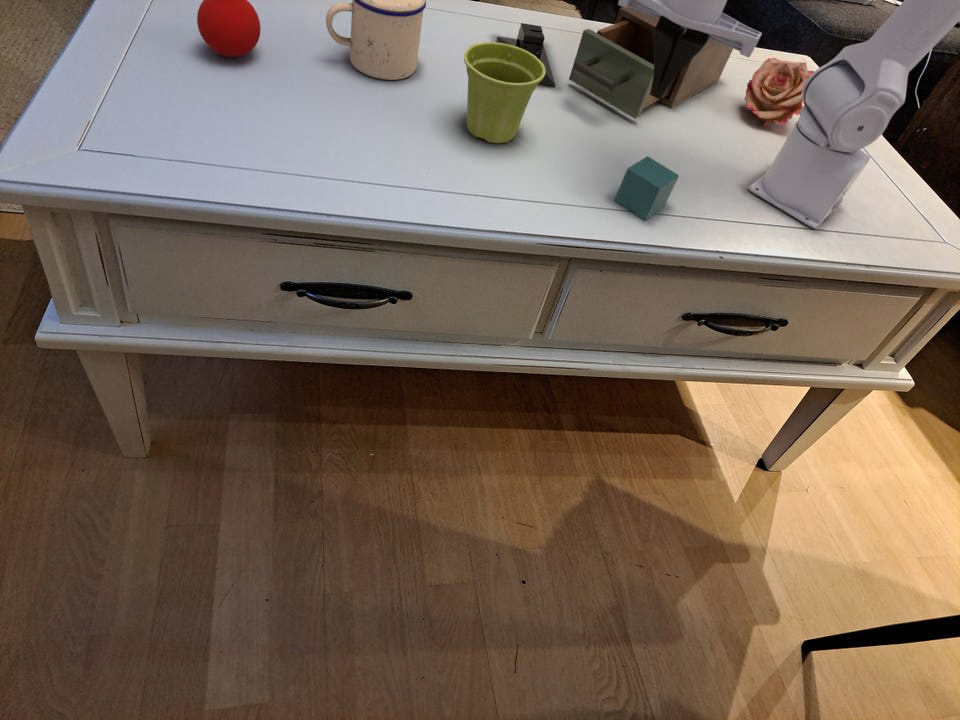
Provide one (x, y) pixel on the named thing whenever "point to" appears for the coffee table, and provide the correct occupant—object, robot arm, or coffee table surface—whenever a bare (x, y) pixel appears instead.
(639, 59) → the drawer
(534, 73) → the plant pot
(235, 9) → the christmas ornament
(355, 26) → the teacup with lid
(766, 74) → the flower
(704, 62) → the cabinet
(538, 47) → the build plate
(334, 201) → the coffee table surface
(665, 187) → the block
